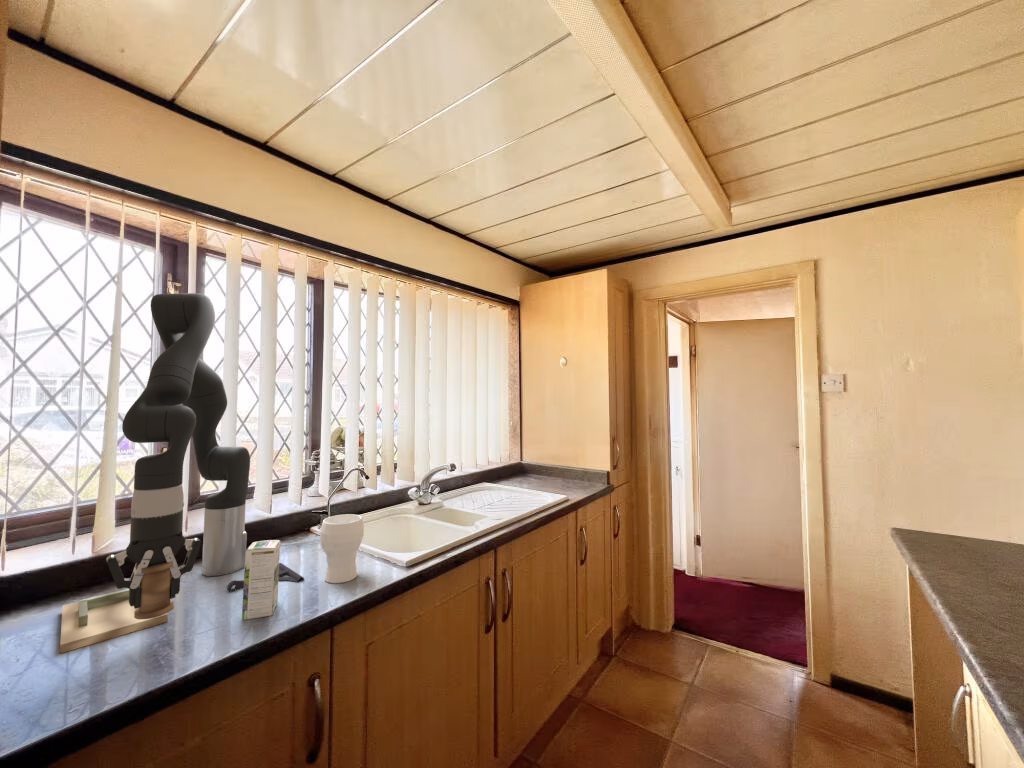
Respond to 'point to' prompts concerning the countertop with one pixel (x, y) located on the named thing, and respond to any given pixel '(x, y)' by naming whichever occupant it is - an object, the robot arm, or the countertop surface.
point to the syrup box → (261, 579)
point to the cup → (341, 546)
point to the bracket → (282, 572)
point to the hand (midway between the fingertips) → (154, 601)
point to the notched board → (100, 620)
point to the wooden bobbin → (155, 591)
